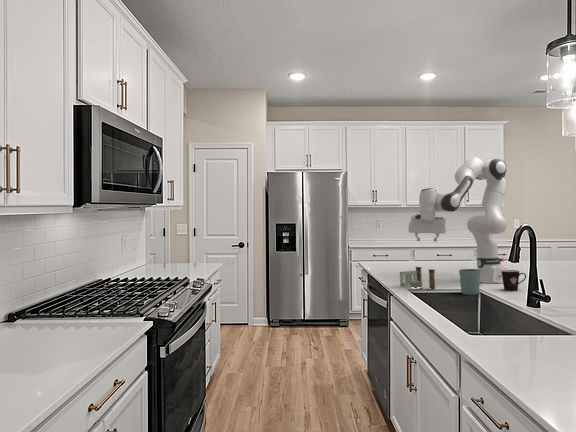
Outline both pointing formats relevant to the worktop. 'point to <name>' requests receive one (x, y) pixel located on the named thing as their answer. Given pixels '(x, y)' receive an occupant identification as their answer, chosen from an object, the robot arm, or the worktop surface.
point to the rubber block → (416, 284)
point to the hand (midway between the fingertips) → (426, 241)
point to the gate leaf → (407, 277)
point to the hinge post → (419, 273)
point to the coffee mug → (511, 279)
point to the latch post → (431, 278)
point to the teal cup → (469, 281)
